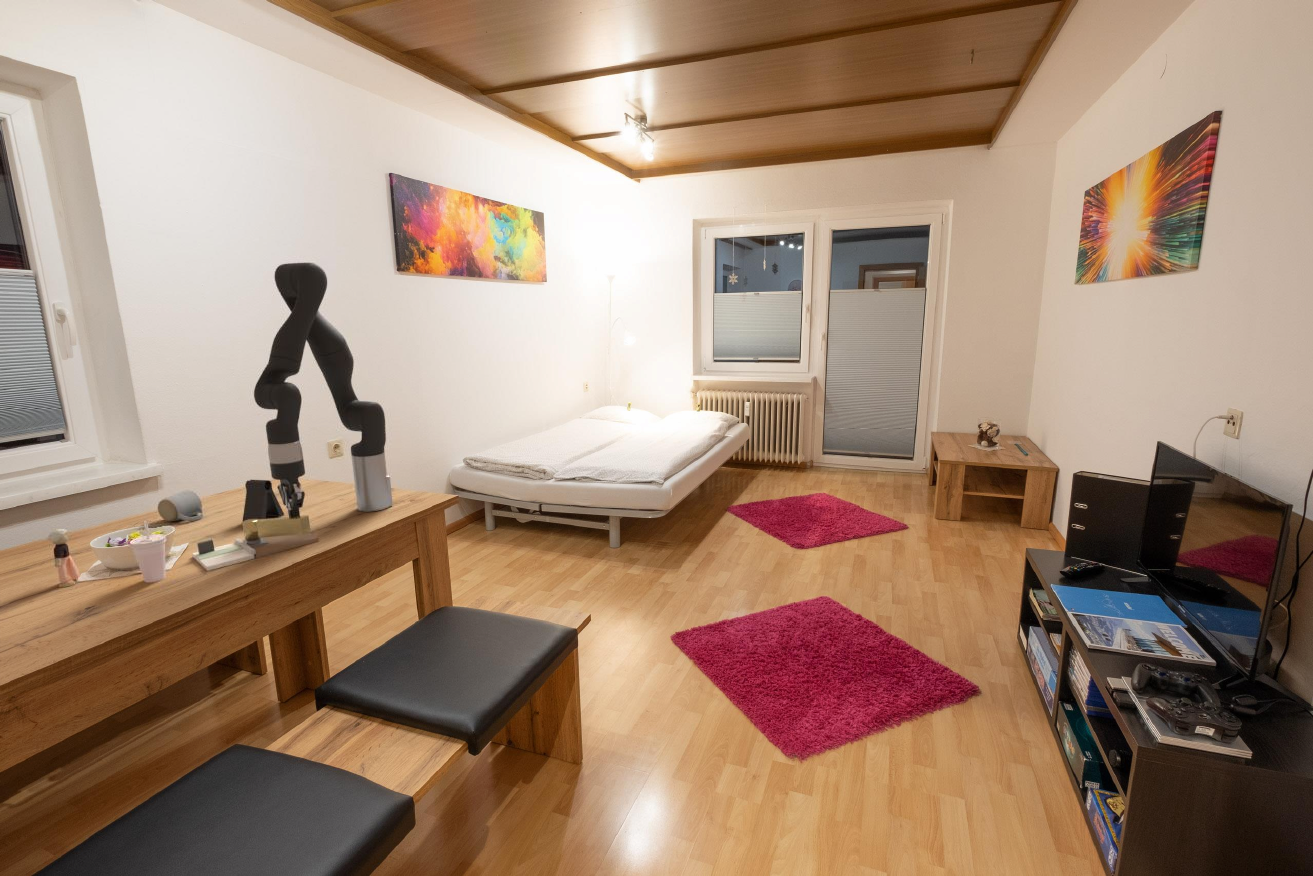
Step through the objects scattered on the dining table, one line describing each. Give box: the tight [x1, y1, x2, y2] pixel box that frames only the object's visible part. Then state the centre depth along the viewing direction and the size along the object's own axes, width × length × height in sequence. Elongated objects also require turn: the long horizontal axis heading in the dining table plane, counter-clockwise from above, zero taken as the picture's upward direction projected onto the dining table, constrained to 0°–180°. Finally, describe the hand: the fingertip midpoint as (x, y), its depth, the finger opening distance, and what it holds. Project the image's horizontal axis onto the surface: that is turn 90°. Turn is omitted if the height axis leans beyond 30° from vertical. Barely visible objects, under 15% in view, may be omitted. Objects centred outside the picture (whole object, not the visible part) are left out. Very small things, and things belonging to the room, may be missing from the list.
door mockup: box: [191, 532, 320, 571], centre depth 154 cm, size 24×13×4 cm, turn 139°
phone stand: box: [241, 479, 285, 523], centre depth 176 cm, size 9×6×12 cm, turn 171°
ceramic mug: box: [157, 489, 204, 523], centre depth 178 cm, size 11×8×8 cm
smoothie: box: [129, 520, 167, 583], centre depth 136 cm, size 6×6×14 cm
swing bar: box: [241, 514, 311, 541], centre depth 156 cm, size 15×4×5 cm, turn 104°
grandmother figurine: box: [46, 528, 81, 588], centre depth 135 cm, size 8×4×13 cm, turn 44°
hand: (295, 522), depth 159 cm, fingers closed
